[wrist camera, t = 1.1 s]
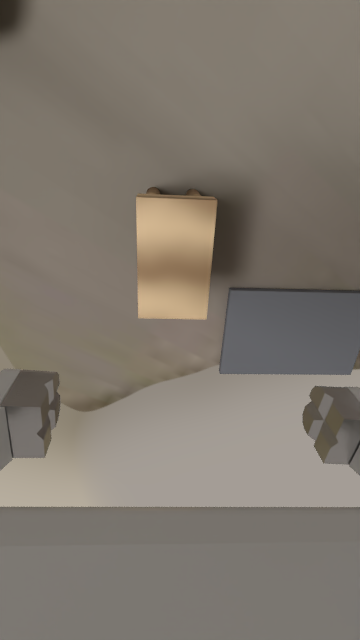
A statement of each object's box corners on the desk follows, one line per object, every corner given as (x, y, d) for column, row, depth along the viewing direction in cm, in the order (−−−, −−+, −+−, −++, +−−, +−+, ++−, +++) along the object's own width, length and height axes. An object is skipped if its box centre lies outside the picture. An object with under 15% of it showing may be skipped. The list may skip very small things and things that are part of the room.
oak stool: (143, 183, 33) (136, 197, 24) (202, 186, 33) (217, 200, 24) (144, 277, 37) (138, 318, 28) (196, 278, 38) (206, 319, 29)
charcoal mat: (375, 291, 40) (379, 293, 39) (347, 371, 45) (350, 374, 44) (229, 287, 38) (230, 290, 38) (219, 370, 44) (219, 373, 43)
